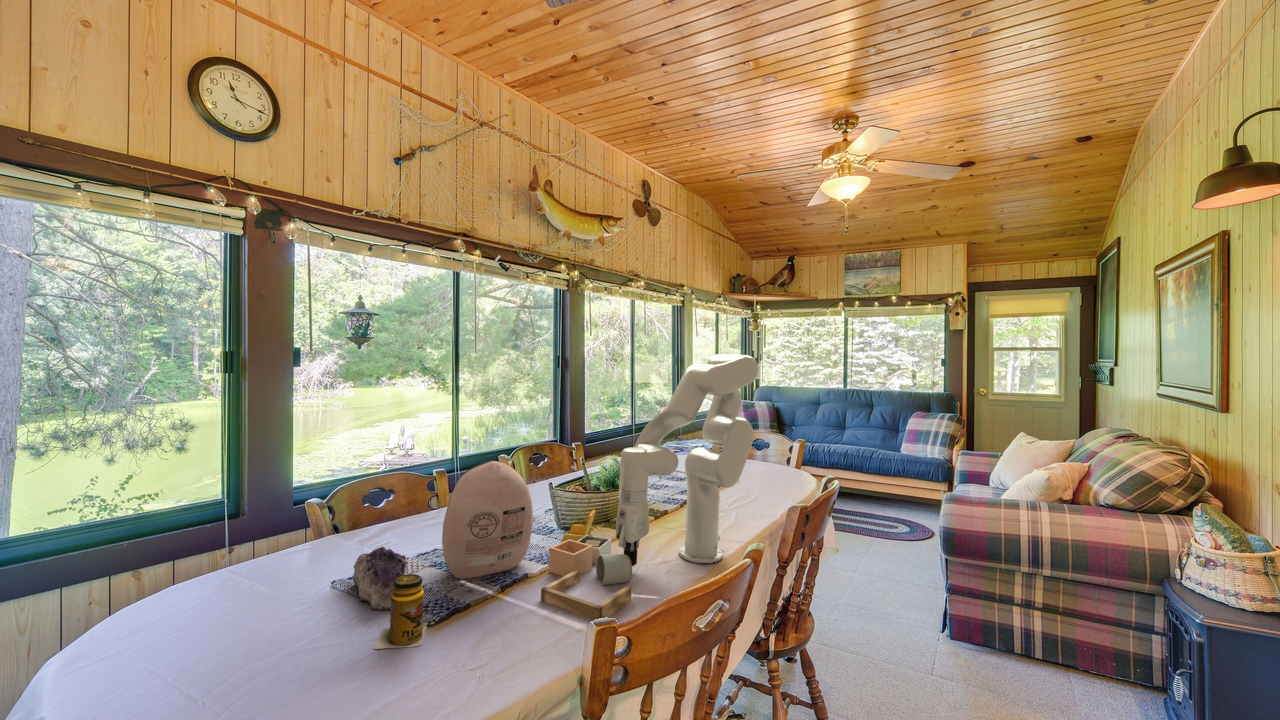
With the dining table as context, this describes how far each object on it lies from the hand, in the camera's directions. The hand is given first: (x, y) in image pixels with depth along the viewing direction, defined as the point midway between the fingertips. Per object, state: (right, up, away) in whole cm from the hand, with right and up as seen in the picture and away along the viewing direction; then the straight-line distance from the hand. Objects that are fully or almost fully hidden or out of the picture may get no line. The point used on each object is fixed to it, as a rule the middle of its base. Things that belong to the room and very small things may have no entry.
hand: (630, 564), depth 141 cm
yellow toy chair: (-17, -2, +23) cm, 29 cm away
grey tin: (-11, -2, +9) cm, 14 cm away
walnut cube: (-11, -2, +9) cm, 14 cm away
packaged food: (-37, -2, -3) cm, 37 cm away
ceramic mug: (-5, -3, -4) cm, 7 cm away
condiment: (-45, -2, -35) cm, 57 cm away
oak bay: (-10, -3, -16) cm, 19 cm away
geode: (-58, -1, -16) cm, 60 cm away
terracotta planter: (-16, -2, -1) cm, 16 cm away
